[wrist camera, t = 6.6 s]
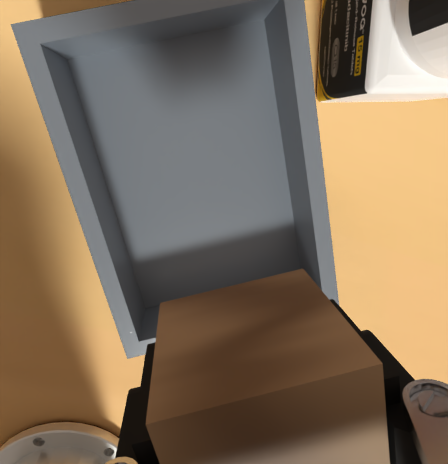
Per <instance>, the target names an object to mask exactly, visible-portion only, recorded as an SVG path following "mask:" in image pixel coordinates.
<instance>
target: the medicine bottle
mask: <svg viewBox="0 0 448 464" xmlns="http://www.w3.org/2000/svg"><path fill="white" fill-rule="evenodd" d="M447 97H448V0H322V10H321V28H320V46H319V64H318V82H317V100H318V101H319V102H392V101H418V100H428V99H437V98H447Z"/></svg>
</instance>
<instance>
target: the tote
mask: <svg viewBox="0 0 448 464" xmlns="http://www.w3.org/2000/svg"><path fill="white" fill-rule="evenodd" d="M11 27H12V29H13V32H14V35H15V38H16V41H17V44H18V47H19V49H20V52H21V55H22V58H23V61H24V64H25V67H26V69H27V72H28V75H29V78H30V81H31V84H32V87H33V89H34V92H35V95H36V98H37V101H38V104H39V107H40V110H41V112H42V115H43V118H44V121H45V124H46V127H47V130H48V132H49V135H50V138H51V141H52V144H53V147H54V150H55V152H56V155H57V158H58V161H59V164H60V167H61V170H62V173H63V175H64V178H65V181H66V184H67V187H68V190H69V193H70V195H71V198H72V201H73V204H74V207H75V210H76V213H77V215H78V218H79V221H80V224H81V227H82V230H83V233H84V236H85V238H86V241H87V244H88V247H89V250H90V253H91V256H92V258H93V261H94V264H95V267H96V270H97V273H98V276H99V278H100V281H101V284H102V287H103V290H104V293H105V296H106V298H107V301H108V304H109V307H110V310H111V313H112V316H113V319H114V321H115V324H116V327H117V330H118V333H119V336H120V339H121V341H122V344H123V347H124V350H125V353H126V356H127V359H129V358H133V357H137V356H141V355H145V354H146V349H147V345H148V344H150V343H154V342H156V334H157V325H158V317H159V309H160V303H162V302H166V301H170V300H174V299H179V298H183V297H187V296H191V295H195V294H199V293H203V292H208V291H212V290H216V289H220V288H224V287H228V286H232V285H237V284H241V283H245V282H249V281H253V280H257V279H261V278H266V277H270V276H274V275H278V274H282V273H286V272H290V271H295V270H299V269H304V270H305V271H306V272H307V274H308V275H309V276H310V277H311V278H312V280H313V281H314V282H315V283H316V284H317V286H318V287H319V288H320V289H321V290H322V292H323V293H324V294H325V295H326V296H327V298H328V299H329V300H330V299H333V300H335V302H336V303H337V304H338V305H339V300H338V291H337V283H336V274H335V265H334V256H333V248H332V239H331V230H330V222H329V213H328V204H327V196H326V187H325V178H324V169H323V161H322V152H321V143H320V135H319V126H318V117H317V109H316V100H315V91H314V82H313V74H312V65H311V56H310V48H309V39H308V30H307V22H306V13H305V4H304V0H132V1H127V2H122V3H117V4H112V5H107V6H102V7H97V8H92V9H87V10H81V11H76V12H71V13H66V14H61V15H56V16H51V17H46V18H41V19H35V20H30V21H25V22H20V23H15V24H11Z"/></svg>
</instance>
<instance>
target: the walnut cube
mask: <svg viewBox="0 0 448 464" xmlns="http://www.w3.org/2000/svg"><path fill="white" fill-rule="evenodd" d="M146 427H147V430H148V433H149V435H150V438H151V441H152V444H153V446H154V449H155V452H156V455H157V458H158V460H159V463H160V464H390V458H389V444H388V431H387V417H386V404H385V390H384V376H383V363H382V362H381V361H380V360H379V359H378V357H377V356H376V355H375V354H374V353H373V351H372V350H371V349H370V348H369V347H368V345H367V344H366V343H365V342H364V341H363V339H362V338H361V337H360V336H359V335H358V333H357V332H356V331H355V330H354V329H353V328H352V326H351V325H350V324H349V323H348V322H347V320H346V319H345V318H344V317H343V316H342V314H341V313H340V312H339V311H338V310H337V308H336V307H335V306H334V305H333V304H332V302H331V301H330V300H329V299H328V298H327V296H326V295H325V294H324V293H323V292H322V290H321V289H320V288H319V287H318V286H317V284H316V283H315V282H314V281H313V280H312V278H311V277H310V276H309V275H308V274H307V272H306V271H305V270H304V269H299V270H295V271H290V272H286V273H282V274H278V275H274V276H270V277H266V278H261V279H257V280H253V281H249V282H245V283H241V284H237V285H232V286H228V287H224V288H220V289H216V290H212V291H208V292H203V293H199V294H195V295H191V296H187V297H183V298H179V299H174V300H170V301H166V302H162V303H160V309H159V317H158V325H157V334H156V342H155V350H154V359H153V367H152V375H151V384H150V392H149V400H148V409H147V417H146Z"/></svg>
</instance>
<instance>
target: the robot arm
mask: <svg viewBox="0 0 448 464" xmlns="http://www.w3.org/2000/svg"><path fill="white" fill-rule="evenodd" d="M330 301H331V302H332V304H333V305H334V306H335V307H336V308H337V310H338V311H339V312H340V313H341V314H342V316H343V317H344V318H345V319H346V320H347V322H348V323H349V324H350V325H351V326H352V328H353V329H354V330H355V331H356V332H357V333H358V335H359V336H360V337H361V338H362V339H363V341H364V342H365V343H366V344H367V345H368V347H369V348H370V349H371V350H372V351H373V353H374V354H375V355H376V356H377V357H378V359H379V360H380V361H381V362H382V363H383V376H384V390H385V404H386V417H387V431H388V444H389V458H390V464H448V384H445V383H443V382H440V381H436V380H432V379H420V380H414V379H413V377H412V376H411V375H410V374H409V373H408V372H407V371H406V370H405V369H404V368H403V366H402V365H401V364H400V363H399V362H398V361H397V360H396V359H395V358H394V357H393V355H392V354H391V353H390V352H389V351H388V350H387V349H386V348H385V347H384V346H383V344H382V343H381V342H380V341H379V340H378V339H377V338H376V337H375V336H374V334H373V333H372V332H370V331H369V330H364V331H360V329H359V328H358V327H357V326H356V325H355V324H354V322H353V321H352V320H351V319H350V318H349V317H348V316H347V314H346V313H345V312H344V311H343V310H342V309H341V307H340V306H339V305H338V304H337V303H336V302H335V300H333V299H330ZM154 350H155V342H154V343H150V344H148V345H147V349H146V355H145V361H144V368H143V374H142V381H141V387H137V388H133V389H130V390H129V392H128V396H127V401H126V406H125V411H124V416H123V421H122V426H121V431H120V436H119V438H118V437H116V436H115V435H113V434H112V433H110V432H108V431H106V430H103V429H101V428H98V427H96V426H92V425H87V424H83V423H74V422H57V423H48V424H43V425H39V426H35V427H32V428H30V429H27V430H24V431H22V432H20V433H19V434H17V435H15V436H13V437H12V438H10V439H9V440H8V441H7V442H5V443H4V444H3V445H2V446H1V447H0V464H160V463H159V460H158V458H157V455H156V452H155V449H154V446H153V444H152V441H151V438H150V435H149V433H148V430H147V427H146V417H147V409H148V400H149V392H150V384H151V375H152V367H153V359H154Z"/></svg>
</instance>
